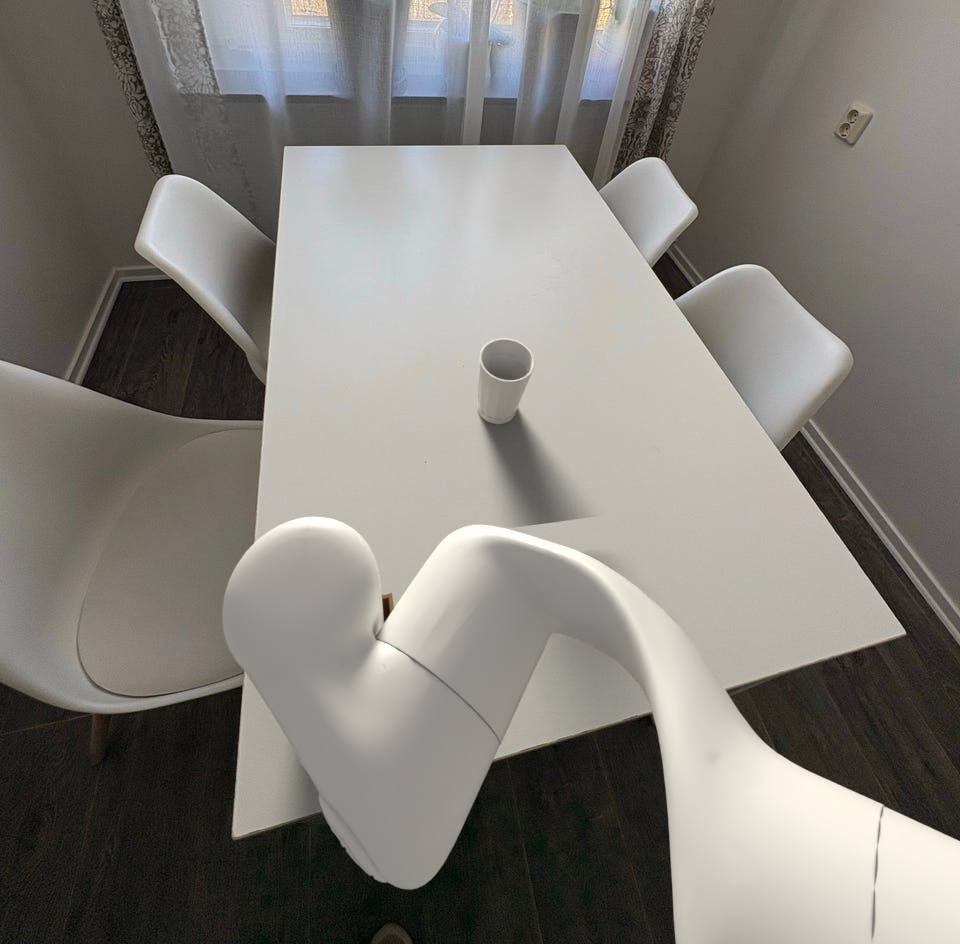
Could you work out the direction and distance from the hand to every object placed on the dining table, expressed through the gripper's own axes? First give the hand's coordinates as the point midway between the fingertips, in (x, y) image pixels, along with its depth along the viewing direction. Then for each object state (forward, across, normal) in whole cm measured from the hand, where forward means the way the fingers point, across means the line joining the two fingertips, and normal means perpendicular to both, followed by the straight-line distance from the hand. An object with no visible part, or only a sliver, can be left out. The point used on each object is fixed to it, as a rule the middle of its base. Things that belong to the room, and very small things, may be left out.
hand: (346, 697), depth 47 cm
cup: (+12, -35, +25) cm, 44 cm away
